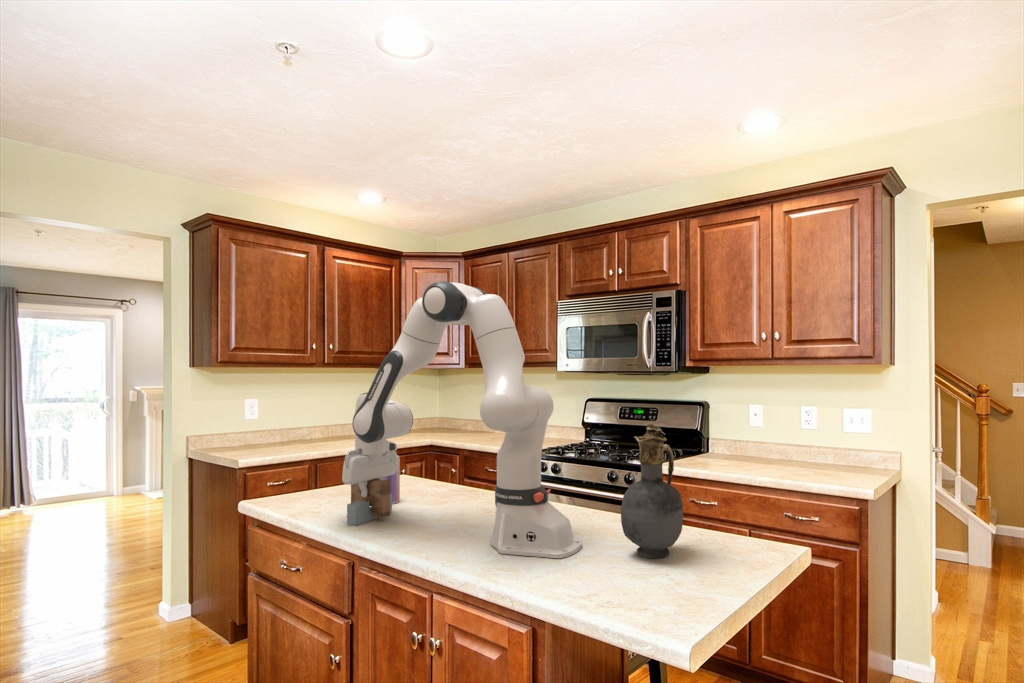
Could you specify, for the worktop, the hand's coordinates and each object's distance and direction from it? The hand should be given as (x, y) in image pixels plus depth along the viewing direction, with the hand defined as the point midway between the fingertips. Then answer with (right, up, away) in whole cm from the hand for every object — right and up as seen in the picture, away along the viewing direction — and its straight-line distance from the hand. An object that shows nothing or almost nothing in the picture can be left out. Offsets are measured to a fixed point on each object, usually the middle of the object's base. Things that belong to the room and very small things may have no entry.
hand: (370, 495), depth 174 cm
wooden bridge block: (0, -6, 0) cm, 6 cm away
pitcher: (+75, -5, -33) cm, 82 cm away
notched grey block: (0, -7, 0) cm, 7 cm away
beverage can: (+2, -8, +20) cm, 22 cm away
